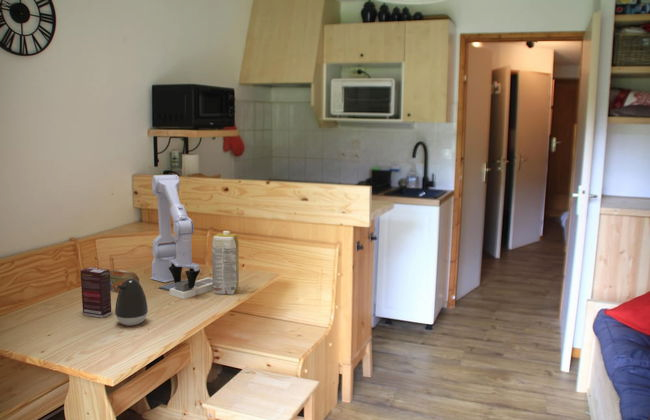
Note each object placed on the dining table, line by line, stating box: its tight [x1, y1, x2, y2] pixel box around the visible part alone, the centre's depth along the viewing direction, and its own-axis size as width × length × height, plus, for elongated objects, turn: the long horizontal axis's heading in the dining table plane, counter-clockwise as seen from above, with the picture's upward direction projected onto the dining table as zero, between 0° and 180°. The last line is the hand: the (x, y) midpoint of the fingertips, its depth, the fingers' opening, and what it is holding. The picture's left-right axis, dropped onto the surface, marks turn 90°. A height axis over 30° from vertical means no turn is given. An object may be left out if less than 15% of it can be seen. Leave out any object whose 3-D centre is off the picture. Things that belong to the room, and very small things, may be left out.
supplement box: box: [80, 266, 112, 319], centre depth 194 cm, size 9×5×16 cm, turn 71°
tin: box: [110, 269, 140, 294], centre depth 220 cm, size 15×3×8 cm, turn 69°
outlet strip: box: [168, 276, 214, 300], centre depth 225 cm, size 8×24×3 cm, turn 146°
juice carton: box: [211, 230, 240, 295], centre depth 221 cm, size 9×8×24 cm
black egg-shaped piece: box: [114, 278, 149, 327], centre depth 187 cm, size 10×10×15 cm
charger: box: [175, 279, 192, 292], centre depth 218 cm, size 4×4×5 cm
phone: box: [157, 278, 188, 292], centre depth 230 cm, size 7×14×1 cm, turn 151°
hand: (184, 285), depth 218 cm, fingers open, 7 cm apart
